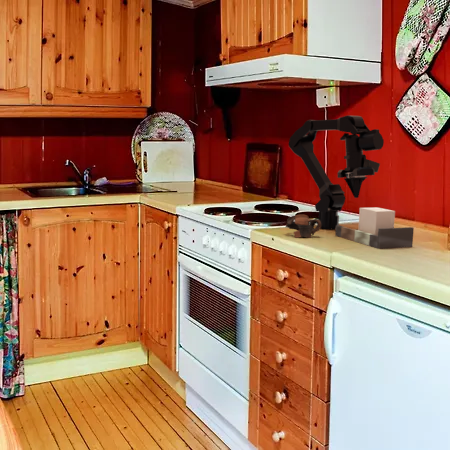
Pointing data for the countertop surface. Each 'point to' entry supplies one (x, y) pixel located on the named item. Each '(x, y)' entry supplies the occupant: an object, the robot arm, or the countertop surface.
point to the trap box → (379, 237)
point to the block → (375, 219)
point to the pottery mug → (303, 225)
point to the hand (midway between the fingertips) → (356, 197)
